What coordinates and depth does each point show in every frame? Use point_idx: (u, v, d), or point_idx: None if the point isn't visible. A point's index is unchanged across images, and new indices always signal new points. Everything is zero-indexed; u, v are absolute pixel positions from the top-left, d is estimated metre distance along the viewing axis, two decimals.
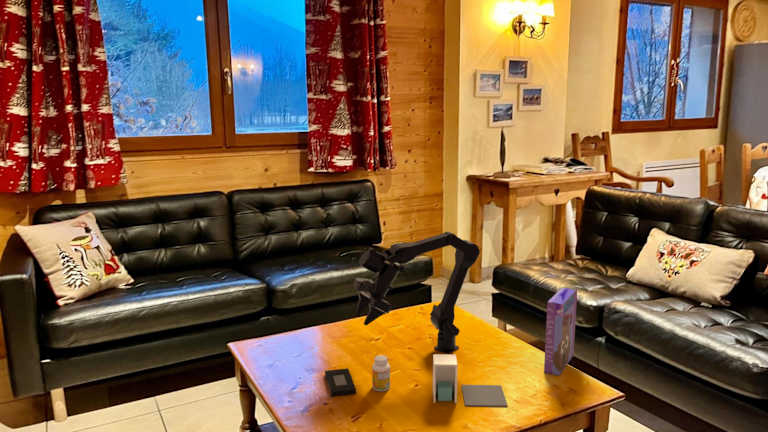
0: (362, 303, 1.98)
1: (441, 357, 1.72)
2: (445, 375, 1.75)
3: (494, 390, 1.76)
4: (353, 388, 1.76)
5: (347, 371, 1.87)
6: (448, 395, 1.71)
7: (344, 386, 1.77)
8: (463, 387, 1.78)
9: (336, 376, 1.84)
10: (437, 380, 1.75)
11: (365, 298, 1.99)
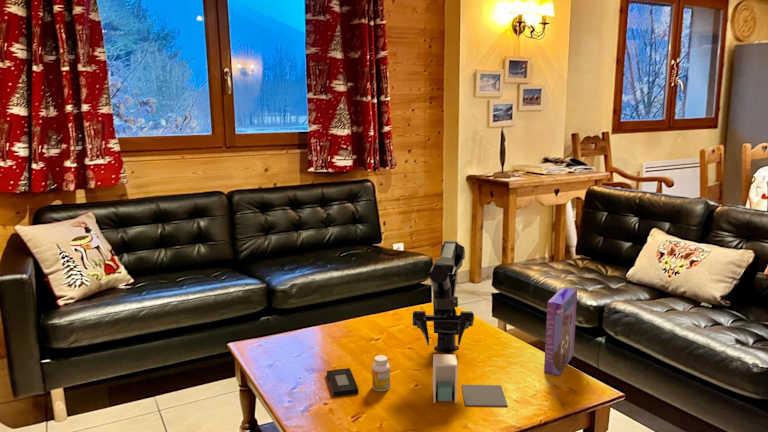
0: None
1: (441, 357, 1.72)
2: (445, 375, 1.75)
3: (494, 390, 1.76)
4: (355, 388, 1.76)
5: (349, 371, 1.87)
6: (448, 395, 1.71)
7: (346, 386, 1.77)
8: (463, 387, 1.78)
9: (338, 376, 1.84)
10: (437, 380, 1.75)
11: None
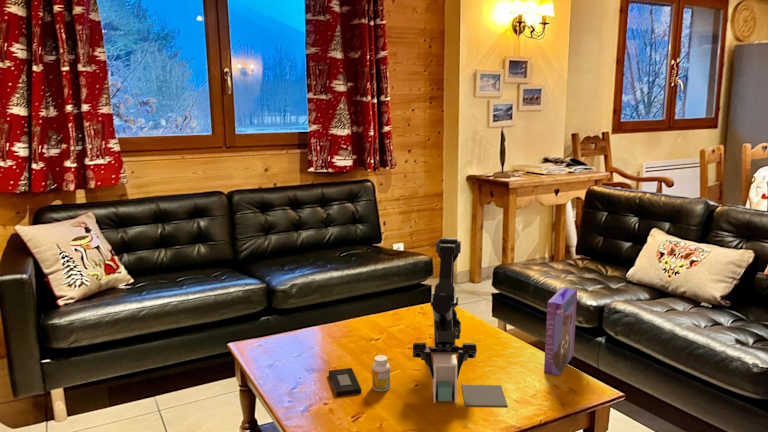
0: (431, 363, 1.73)
1: (441, 357, 1.72)
2: (445, 375, 1.75)
3: (494, 390, 1.76)
4: (358, 387, 1.76)
5: (351, 371, 1.87)
6: (448, 395, 1.71)
7: (349, 385, 1.78)
8: (463, 387, 1.78)
9: (340, 376, 1.84)
10: (437, 380, 1.75)
11: None
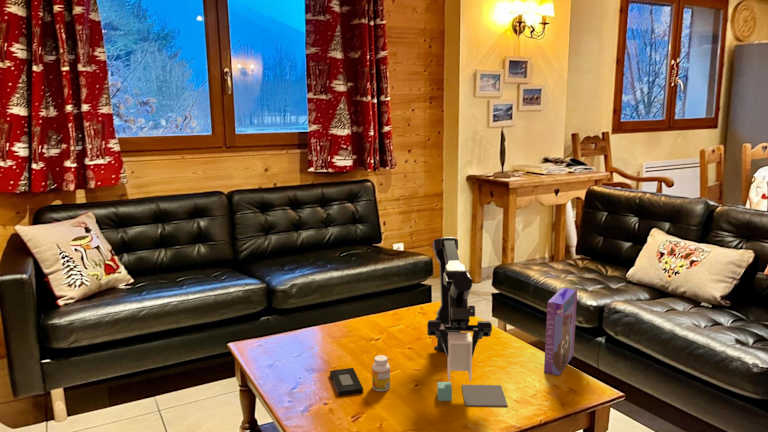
0: None
1: (456, 335, 1.71)
2: (460, 353, 1.74)
3: (494, 390, 1.76)
4: (360, 387, 1.76)
5: (352, 370, 1.87)
6: (448, 395, 1.71)
7: (350, 385, 1.78)
8: (463, 387, 1.78)
9: (341, 376, 1.84)
10: (452, 358, 1.74)
11: None
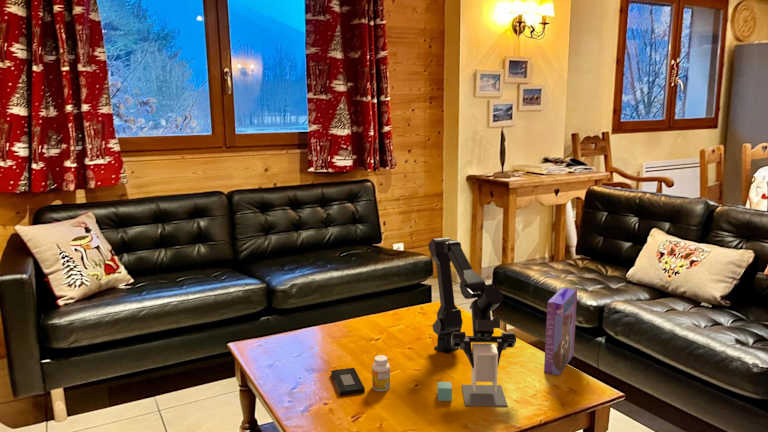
0: None
1: (481, 346, 1.72)
2: (484, 364, 1.75)
3: (494, 390, 1.76)
4: (362, 387, 1.76)
5: (354, 370, 1.87)
6: (448, 395, 1.71)
7: (352, 385, 1.78)
8: (463, 387, 1.78)
9: (343, 376, 1.84)
10: (476, 369, 1.75)
11: None
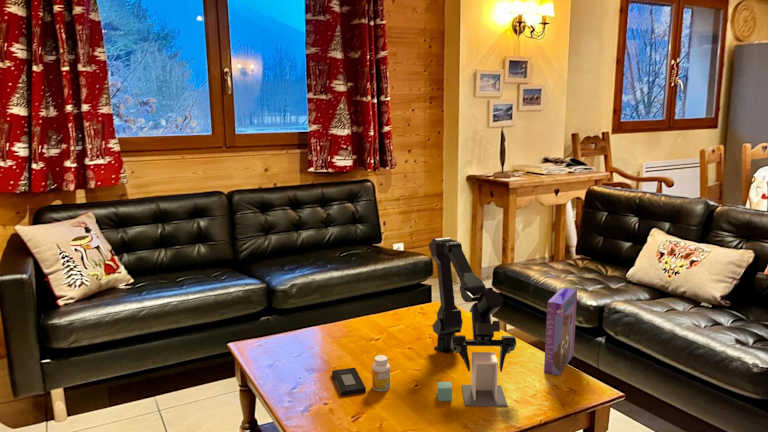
0: None
1: (480, 355, 1.72)
2: (484, 373, 1.75)
3: None
4: (363, 387, 1.76)
5: (354, 370, 1.87)
6: (448, 395, 1.71)
7: (353, 385, 1.78)
8: (463, 387, 1.78)
9: (344, 376, 1.84)
10: (476, 378, 1.76)
11: None
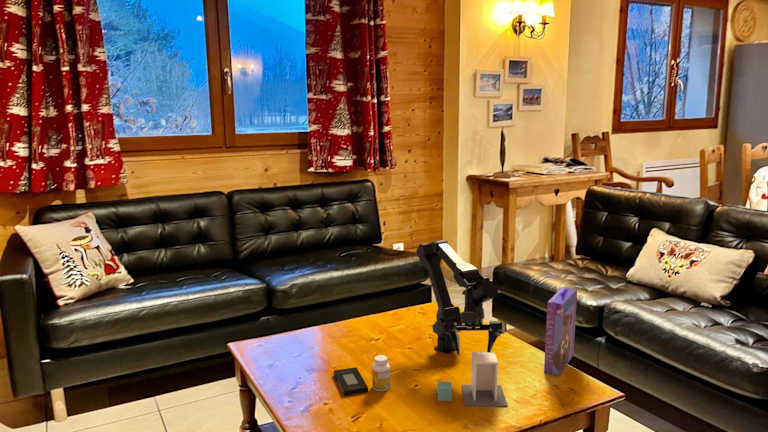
0: (457, 341, 1.84)
1: (480, 355, 1.72)
2: (484, 373, 1.75)
3: None
4: (365, 386, 1.77)
5: (356, 370, 1.88)
6: (448, 395, 1.71)
7: (355, 385, 1.78)
8: (463, 387, 1.78)
9: (345, 376, 1.84)
10: (476, 378, 1.76)
11: (457, 335, 1.85)
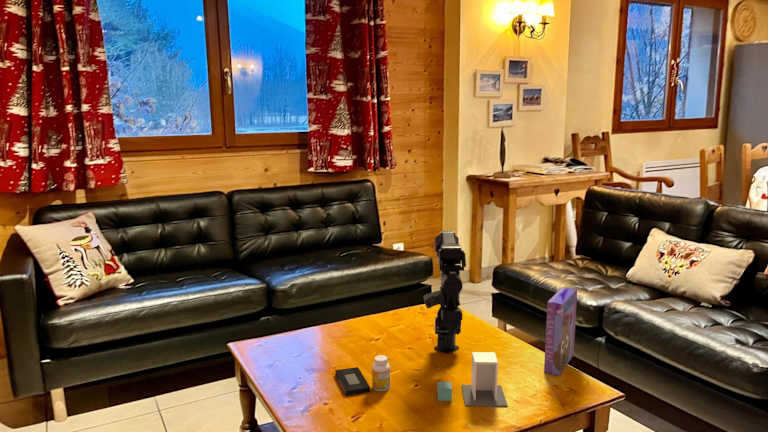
0: None
1: (480, 355, 1.72)
2: (484, 373, 1.75)
3: None
4: (367, 386, 1.77)
5: (358, 370, 1.88)
6: (448, 395, 1.71)
7: (357, 384, 1.78)
8: (463, 387, 1.78)
9: (347, 375, 1.84)
10: (476, 378, 1.76)
11: None
